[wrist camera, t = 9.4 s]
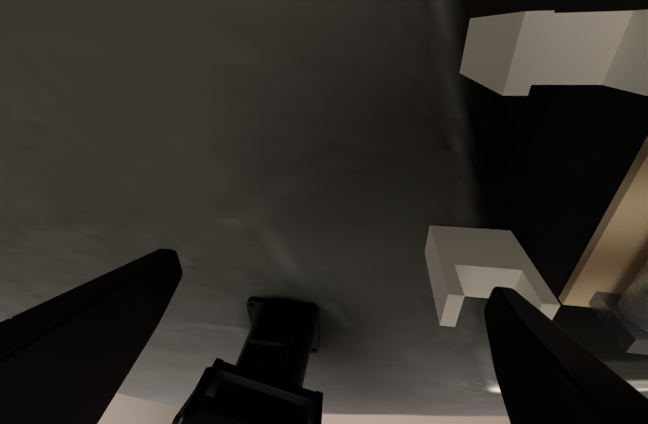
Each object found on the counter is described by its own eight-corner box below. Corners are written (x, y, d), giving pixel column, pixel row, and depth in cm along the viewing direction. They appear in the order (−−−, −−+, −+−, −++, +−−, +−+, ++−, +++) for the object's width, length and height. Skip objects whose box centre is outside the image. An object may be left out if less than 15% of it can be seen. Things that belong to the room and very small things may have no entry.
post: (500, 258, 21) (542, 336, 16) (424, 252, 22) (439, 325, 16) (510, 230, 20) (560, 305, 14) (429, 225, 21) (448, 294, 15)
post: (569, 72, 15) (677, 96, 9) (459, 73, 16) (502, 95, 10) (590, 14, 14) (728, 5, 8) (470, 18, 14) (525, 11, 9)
